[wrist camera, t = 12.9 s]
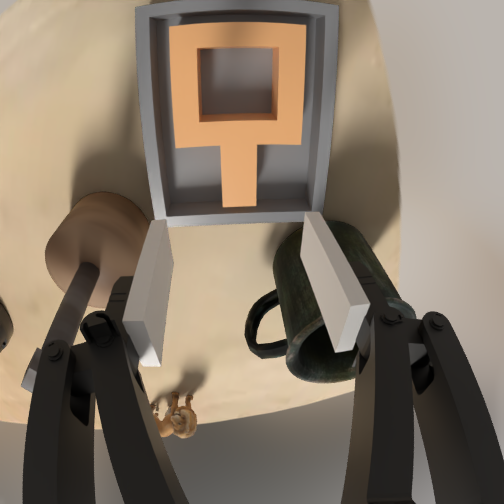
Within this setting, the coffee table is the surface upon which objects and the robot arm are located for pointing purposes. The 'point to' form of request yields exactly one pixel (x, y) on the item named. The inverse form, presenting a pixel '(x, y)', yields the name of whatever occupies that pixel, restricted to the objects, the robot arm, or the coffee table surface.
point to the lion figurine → (177, 419)
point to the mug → (314, 310)
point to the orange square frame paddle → (239, 124)
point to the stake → (90, 261)
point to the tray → (236, 101)
